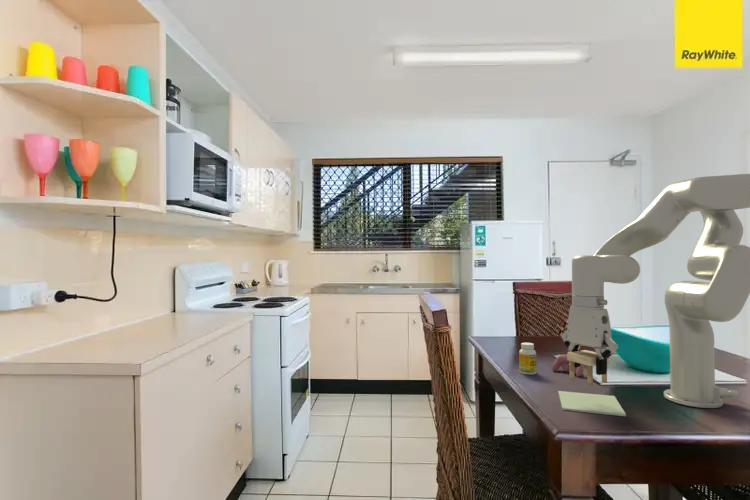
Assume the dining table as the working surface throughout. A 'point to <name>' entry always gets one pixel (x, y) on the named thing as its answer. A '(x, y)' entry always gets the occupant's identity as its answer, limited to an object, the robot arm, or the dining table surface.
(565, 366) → the video game controller
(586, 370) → the stool
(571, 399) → the mat
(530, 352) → the supplement bottle
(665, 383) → the dining table surface
